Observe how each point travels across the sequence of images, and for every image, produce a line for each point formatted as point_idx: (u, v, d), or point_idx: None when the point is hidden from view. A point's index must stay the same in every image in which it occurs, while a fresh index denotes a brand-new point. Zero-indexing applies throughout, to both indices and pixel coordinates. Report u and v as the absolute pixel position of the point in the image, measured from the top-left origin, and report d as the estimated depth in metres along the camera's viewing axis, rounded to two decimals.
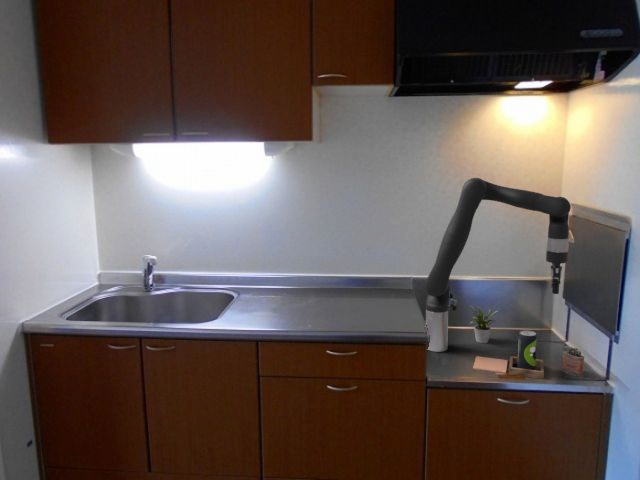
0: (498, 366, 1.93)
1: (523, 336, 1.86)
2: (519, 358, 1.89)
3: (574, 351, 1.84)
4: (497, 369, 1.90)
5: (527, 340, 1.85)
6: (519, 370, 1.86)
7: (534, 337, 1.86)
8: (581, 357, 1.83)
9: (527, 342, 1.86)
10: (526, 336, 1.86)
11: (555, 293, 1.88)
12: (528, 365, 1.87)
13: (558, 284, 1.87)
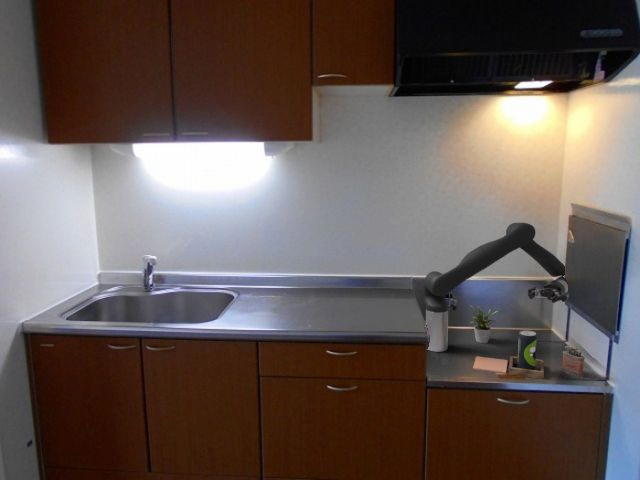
0: (498, 366, 1.93)
1: (523, 336, 1.86)
2: (519, 358, 1.89)
3: (574, 351, 1.84)
4: (497, 369, 1.90)
5: (527, 340, 1.85)
6: (519, 370, 1.86)
7: (534, 337, 1.86)
8: (581, 357, 1.83)
9: (527, 342, 1.86)
10: (526, 336, 1.86)
11: (554, 300, 1.91)
12: (528, 365, 1.87)
13: None
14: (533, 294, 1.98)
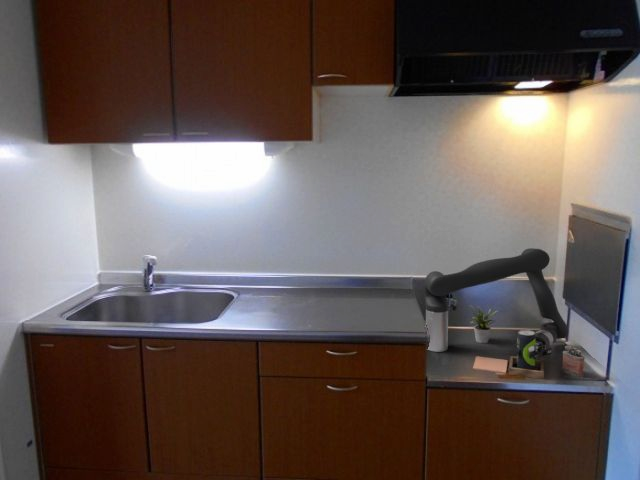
0: (498, 366, 1.93)
1: (522, 336, 1.87)
2: (518, 358, 1.89)
3: (574, 351, 1.84)
4: (497, 369, 1.90)
5: (526, 340, 1.86)
6: (519, 370, 1.86)
7: (533, 336, 1.86)
8: (581, 357, 1.83)
9: (526, 342, 1.86)
10: (524, 335, 1.86)
11: (531, 356, 1.85)
12: (527, 364, 1.87)
13: None
14: None
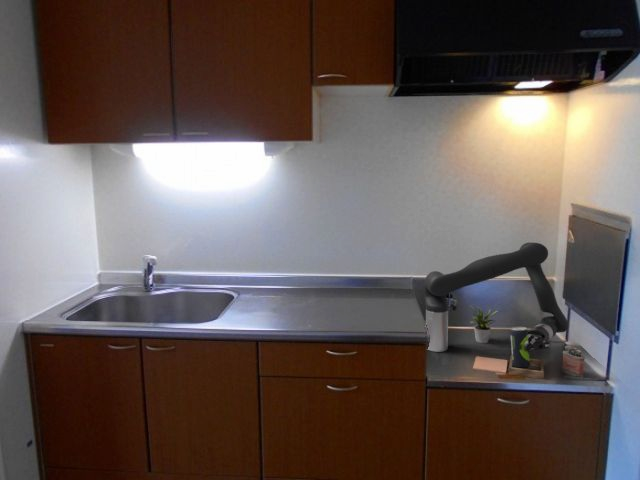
0: (498, 366, 1.93)
1: (516, 331, 1.87)
2: (514, 355, 1.88)
3: (574, 351, 1.84)
4: (497, 369, 1.90)
5: (521, 335, 1.87)
6: (519, 370, 1.86)
7: (526, 331, 1.88)
8: (581, 357, 1.83)
9: (522, 337, 1.87)
10: (519, 331, 1.87)
11: (526, 348, 1.85)
12: (525, 360, 1.87)
13: None
14: None
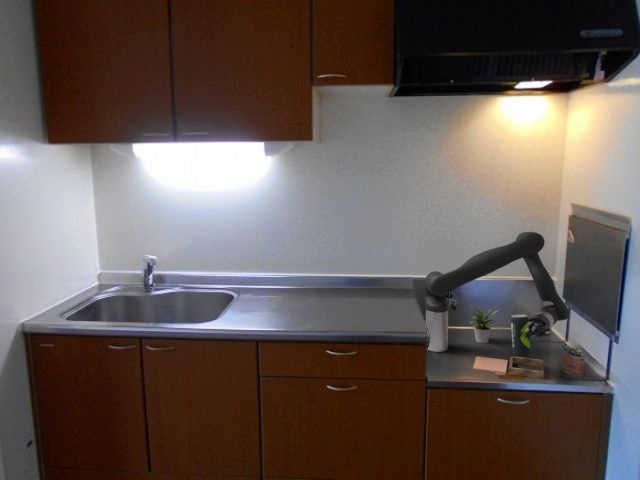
0: (498, 366, 1.93)
1: (517, 318, 1.87)
2: (515, 342, 1.87)
3: (574, 351, 1.84)
4: (497, 369, 1.90)
5: (522, 322, 1.86)
6: (519, 370, 1.86)
7: (527, 318, 1.87)
8: (581, 357, 1.83)
9: (522, 324, 1.86)
10: (520, 318, 1.86)
11: (527, 335, 1.84)
12: (525, 347, 1.86)
13: None
14: None
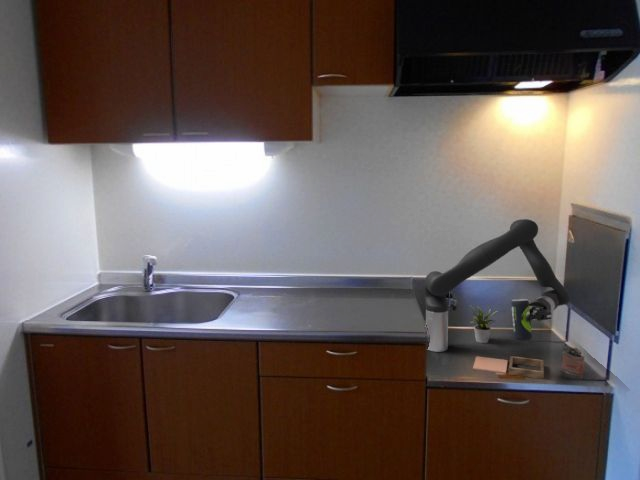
0: (498, 366, 1.93)
1: (518, 302, 1.86)
2: (516, 327, 1.86)
3: (574, 351, 1.84)
4: (497, 369, 1.90)
5: (523, 305, 1.85)
6: (519, 370, 1.86)
7: (527, 302, 1.86)
8: (581, 357, 1.83)
9: (523, 308, 1.85)
10: (521, 301, 1.85)
11: (528, 319, 1.83)
12: (527, 331, 1.85)
13: None
14: None
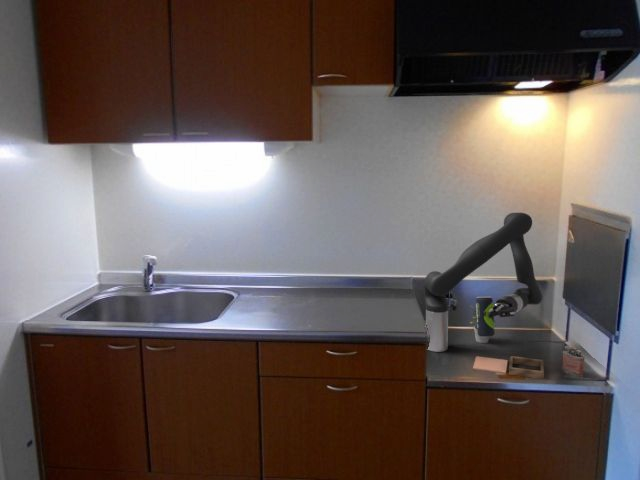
0: (498, 366, 1.93)
1: (481, 299, 1.91)
2: (479, 323, 1.91)
3: (574, 351, 1.84)
4: (497, 369, 1.90)
5: (486, 302, 1.90)
6: (519, 370, 1.86)
7: (491, 299, 1.92)
8: (581, 357, 1.83)
9: (486, 304, 1.90)
10: (484, 298, 1.91)
11: (490, 315, 1.88)
12: (489, 327, 1.90)
13: None
14: None
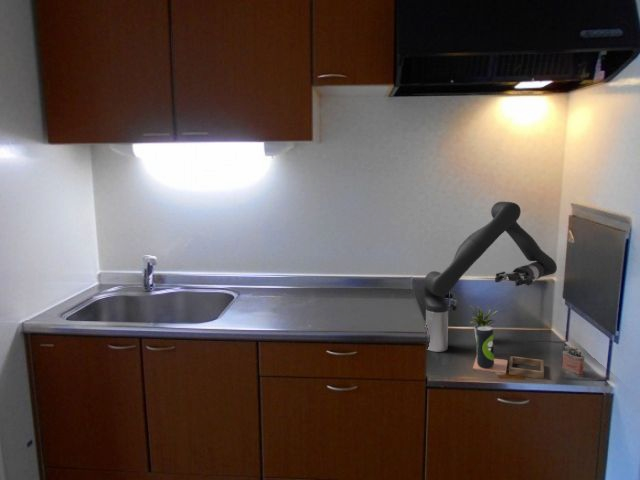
0: (498, 366, 1.93)
1: (480, 331, 1.90)
2: (478, 354, 1.92)
3: (574, 351, 1.84)
4: (497, 369, 1.90)
5: (484, 335, 1.89)
6: (519, 370, 1.86)
7: (491, 331, 1.90)
8: (581, 357, 1.83)
9: (485, 337, 1.89)
10: (483, 331, 1.90)
11: (517, 283, 1.94)
12: (487, 359, 1.90)
13: None
14: (499, 278, 2.01)
